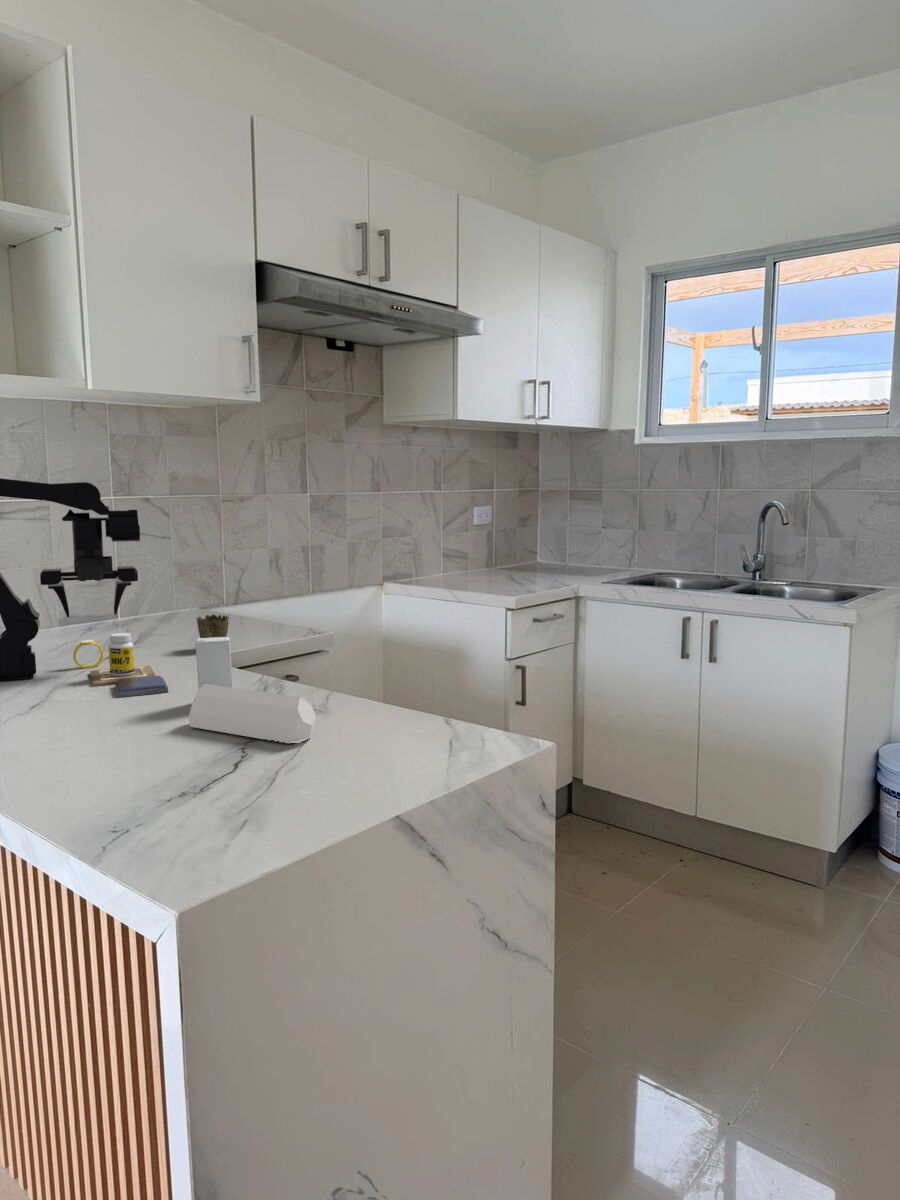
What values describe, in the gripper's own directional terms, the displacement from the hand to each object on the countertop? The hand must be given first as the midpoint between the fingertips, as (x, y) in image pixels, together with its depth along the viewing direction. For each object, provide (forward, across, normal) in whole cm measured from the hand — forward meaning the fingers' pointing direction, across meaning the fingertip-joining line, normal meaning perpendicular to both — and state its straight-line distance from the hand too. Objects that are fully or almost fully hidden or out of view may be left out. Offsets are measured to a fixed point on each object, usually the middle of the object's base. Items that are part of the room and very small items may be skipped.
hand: (92, 615), depth 177 cm
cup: (+12, +27, +13) cm, 32 cm away
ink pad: (+12, +8, -21) cm, 25 cm away
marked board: (+12, +5, -9) cm, 16 cm away
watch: (+12, -1, +4) cm, 13 cm away
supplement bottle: (+12, +5, -9) cm, 15 cm away
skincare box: (+12, +20, -37) cm, 44 cm away
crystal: (+12, +22, -57) cm, 63 cm away
